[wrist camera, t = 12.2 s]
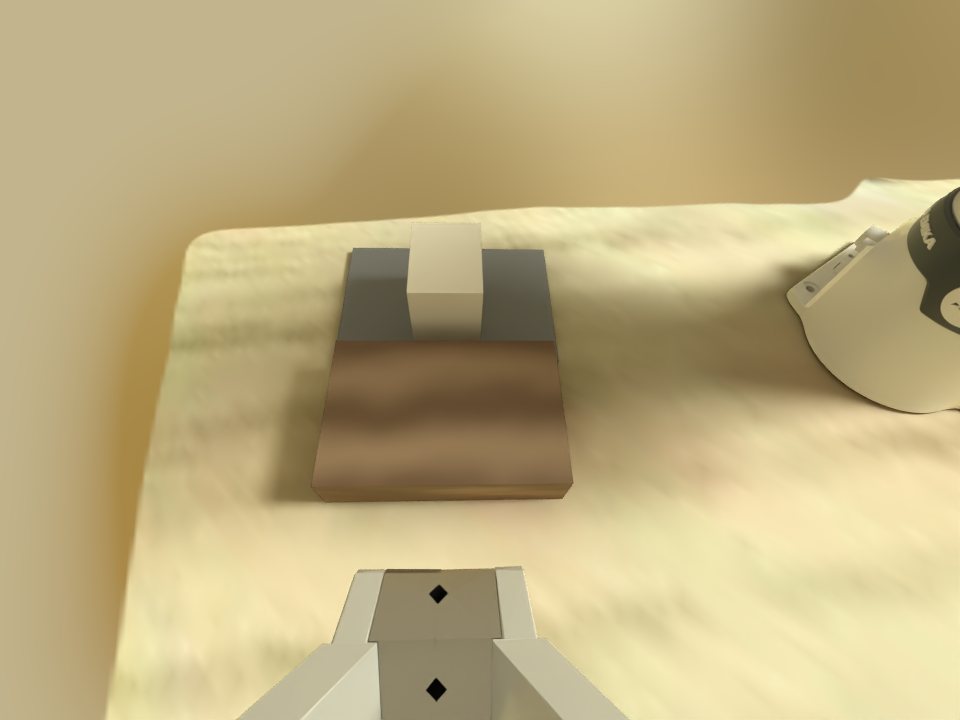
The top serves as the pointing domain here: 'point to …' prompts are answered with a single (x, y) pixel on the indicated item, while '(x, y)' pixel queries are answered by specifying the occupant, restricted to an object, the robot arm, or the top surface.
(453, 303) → the cream block
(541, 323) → the charcoal mat
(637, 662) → the top surface
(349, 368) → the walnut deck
